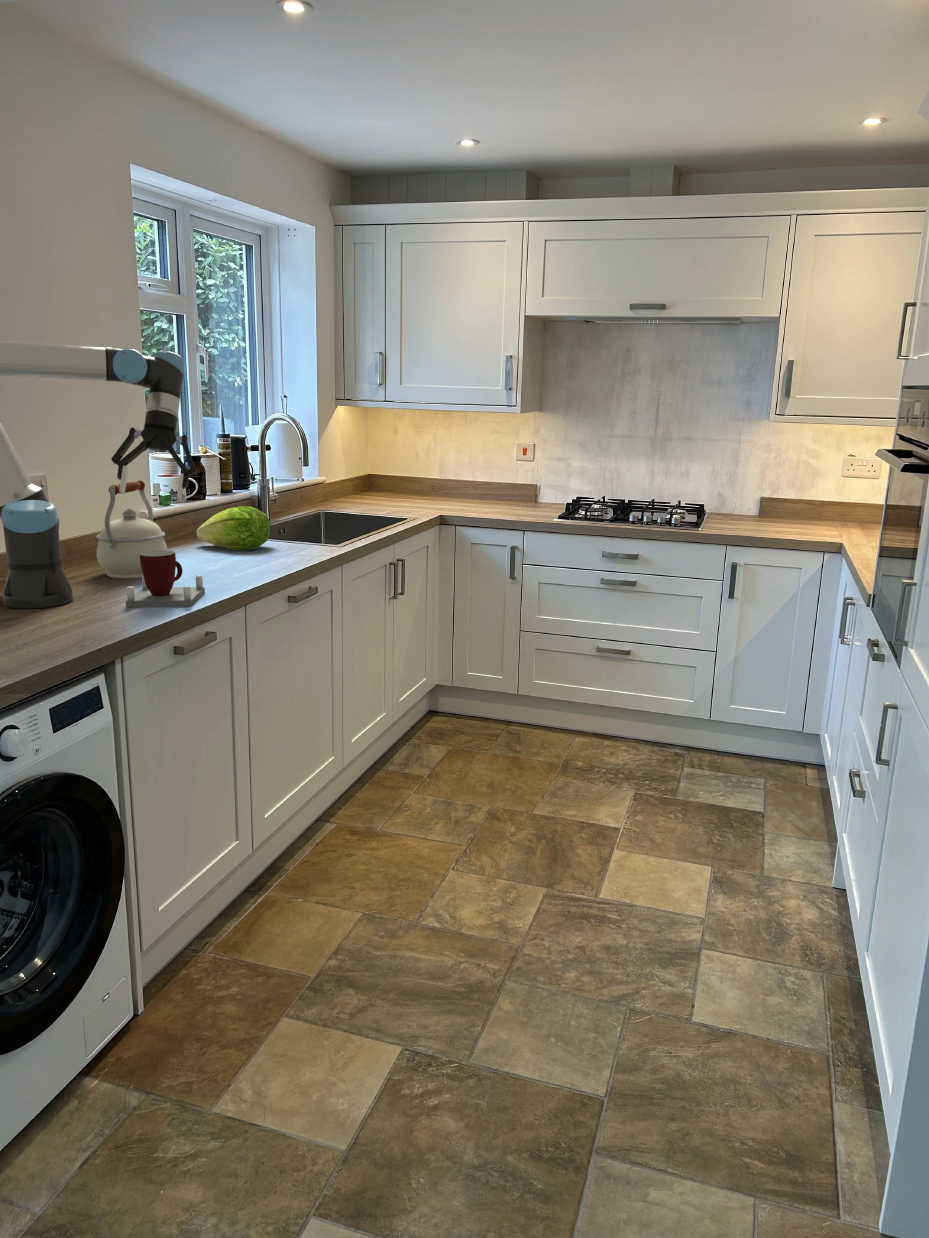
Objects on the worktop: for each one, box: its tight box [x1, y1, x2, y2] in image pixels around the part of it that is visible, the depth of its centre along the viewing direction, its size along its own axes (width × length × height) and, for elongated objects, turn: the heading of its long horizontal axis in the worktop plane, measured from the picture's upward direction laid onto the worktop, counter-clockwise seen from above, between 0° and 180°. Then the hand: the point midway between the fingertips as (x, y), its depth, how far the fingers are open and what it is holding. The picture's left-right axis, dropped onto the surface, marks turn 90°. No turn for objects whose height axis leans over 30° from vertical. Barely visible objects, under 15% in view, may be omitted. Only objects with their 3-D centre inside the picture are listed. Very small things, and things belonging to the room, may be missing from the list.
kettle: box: [95, 479, 169, 580], centre depth 253 cm, size 25×18×25 cm
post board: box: [125, 575, 206, 608], centre depth 223 cm, size 15×15×4 cm
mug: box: [140, 550, 183, 596], centre depth 222 cm, size 11×8×10 cm
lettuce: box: [196, 505, 271, 552], centre depth 295 cm, size 14×24×15 cm
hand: (150, 496), depth 229 cm, fingers open, 13 cm apart
